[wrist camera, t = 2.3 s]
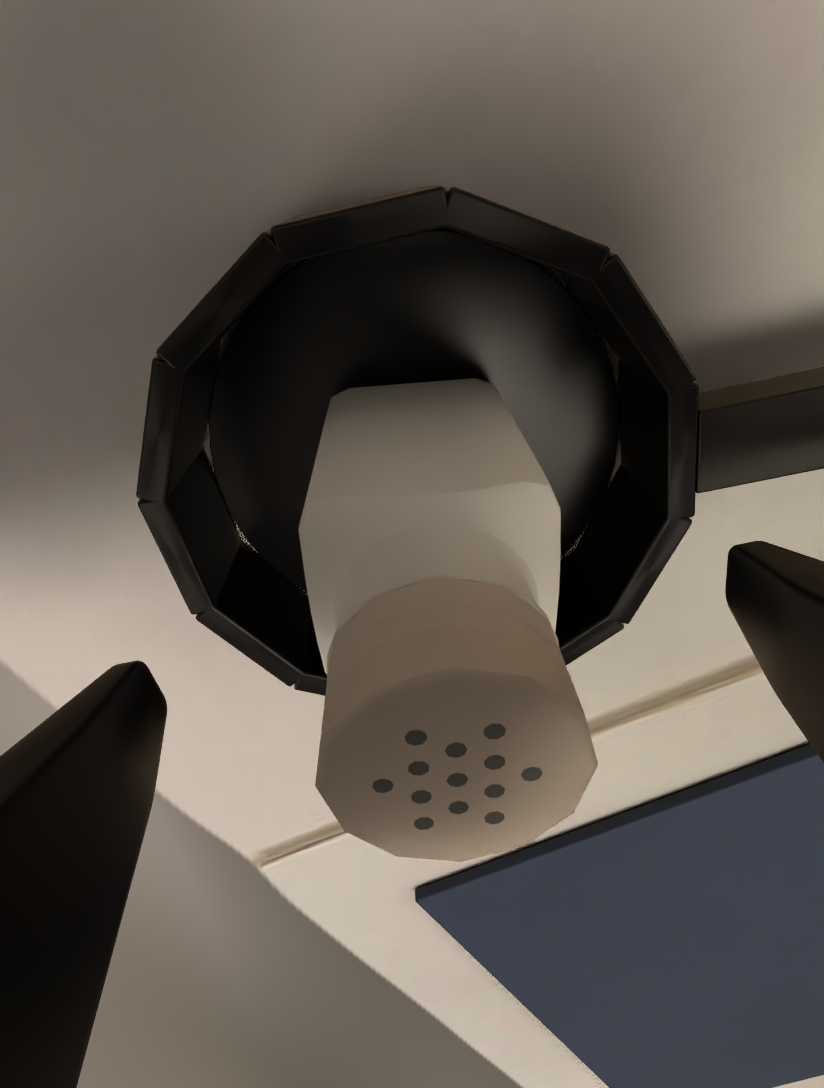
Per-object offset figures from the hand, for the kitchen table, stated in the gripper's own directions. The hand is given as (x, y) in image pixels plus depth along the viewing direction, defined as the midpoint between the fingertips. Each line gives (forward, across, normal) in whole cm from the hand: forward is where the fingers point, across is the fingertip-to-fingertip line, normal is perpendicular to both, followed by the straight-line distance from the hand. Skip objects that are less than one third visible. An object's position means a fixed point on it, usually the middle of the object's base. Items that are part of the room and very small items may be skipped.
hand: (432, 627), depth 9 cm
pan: (+7, -5, 0) cm, 8 cm away
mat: (+7, -9, +29) cm, 31 cm away
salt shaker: (+7, 0, 0) cm, 7 cm away
